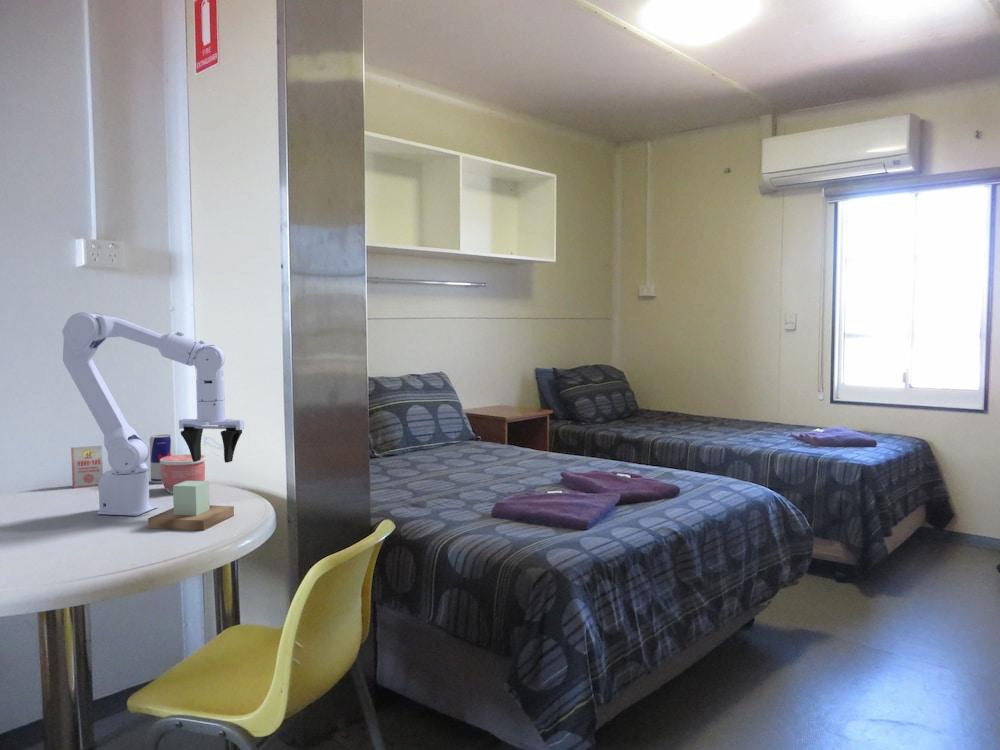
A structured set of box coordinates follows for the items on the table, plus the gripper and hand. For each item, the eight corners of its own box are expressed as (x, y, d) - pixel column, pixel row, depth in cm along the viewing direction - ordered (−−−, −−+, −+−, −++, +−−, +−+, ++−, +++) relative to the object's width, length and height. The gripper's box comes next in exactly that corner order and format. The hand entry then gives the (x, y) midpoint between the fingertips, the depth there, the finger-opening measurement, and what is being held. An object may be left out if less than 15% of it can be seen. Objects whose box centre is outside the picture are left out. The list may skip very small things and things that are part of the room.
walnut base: (148, 528, 153) (147, 518, 153) (182, 513, 165) (181, 504, 165) (203, 530, 151) (203, 520, 151) (234, 515, 163) (233, 506, 163)
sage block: (173, 514, 156) (172, 485, 155) (187, 508, 161) (186, 480, 160) (196, 515, 155) (195, 486, 155) (209, 509, 160) (208, 481, 160)
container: (196, 494, 183) (195, 461, 183) (153, 494, 184) (151, 461, 183) (213, 485, 194) (212, 454, 193) (172, 485, 194) (171, 454, 193)
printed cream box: (72, 485, 194) (71, 446, 193) (102, 483, 197) (101, 444, 196) (72, 488, 191) (71, 448, 190) (103, 485, 194) (101, 446, 193)
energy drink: (164, 484, 195) (163, 437, 194) (146, 483, 196) (144, 437, 195) (177, 480, 200) (176, 434, 200) (159, 479, 201) (158, 434, 201)
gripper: (170, 401, 166) (172, 463, 167) (232, 402, 163) (233, 465, 164) (188, 398, 173) (190, 458, 174) (248, 399, 170) (249, 459, 171)
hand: (212, 461), depth 169 cm, fingers open, 7 cm apart
